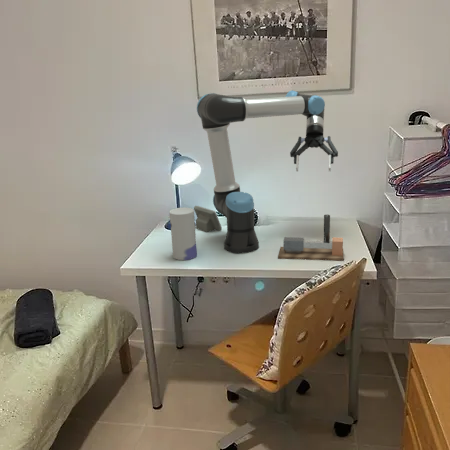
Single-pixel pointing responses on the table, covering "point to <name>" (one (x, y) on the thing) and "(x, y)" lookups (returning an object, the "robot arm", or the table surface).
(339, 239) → the socket block
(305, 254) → the base board
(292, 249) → the outer sleeve
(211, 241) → the table surface
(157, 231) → the table surface
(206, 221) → the digital clock
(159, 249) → the table surface
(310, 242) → the sliding bolt
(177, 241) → the container
